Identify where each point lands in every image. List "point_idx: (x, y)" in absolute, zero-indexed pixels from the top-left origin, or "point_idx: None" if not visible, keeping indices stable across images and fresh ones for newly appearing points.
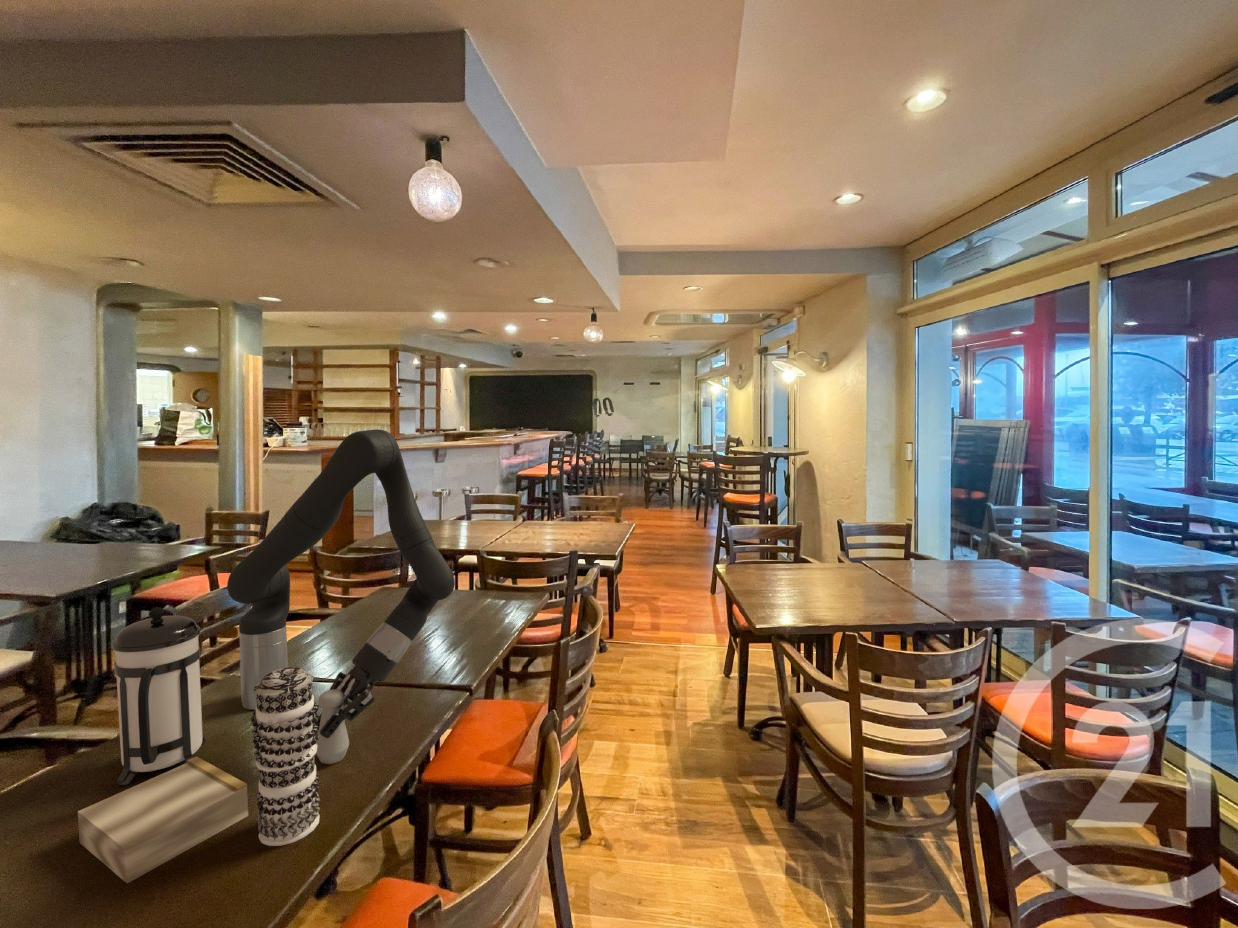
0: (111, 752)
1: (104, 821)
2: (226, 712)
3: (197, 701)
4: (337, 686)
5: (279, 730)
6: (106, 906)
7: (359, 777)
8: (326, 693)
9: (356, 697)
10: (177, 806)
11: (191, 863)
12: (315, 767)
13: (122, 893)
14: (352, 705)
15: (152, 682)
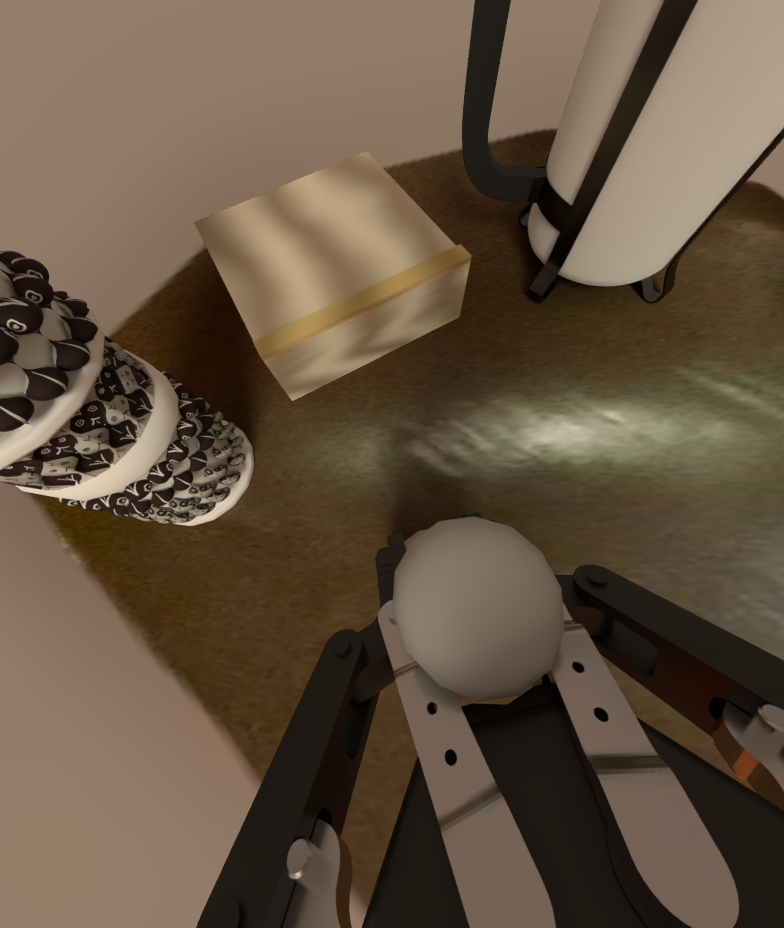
0: None
1: (305, 185)
2: None
3: (695, 117)
4: (691, 670)
5: None
6: (198, 269)
7: (290, 638)
8: (476, 568)
9: (302, 812)
10: (276, 261)
11: (215, 338)
12: (39, 492)
13: (212, 278)
14: (284, 736)
15: None
